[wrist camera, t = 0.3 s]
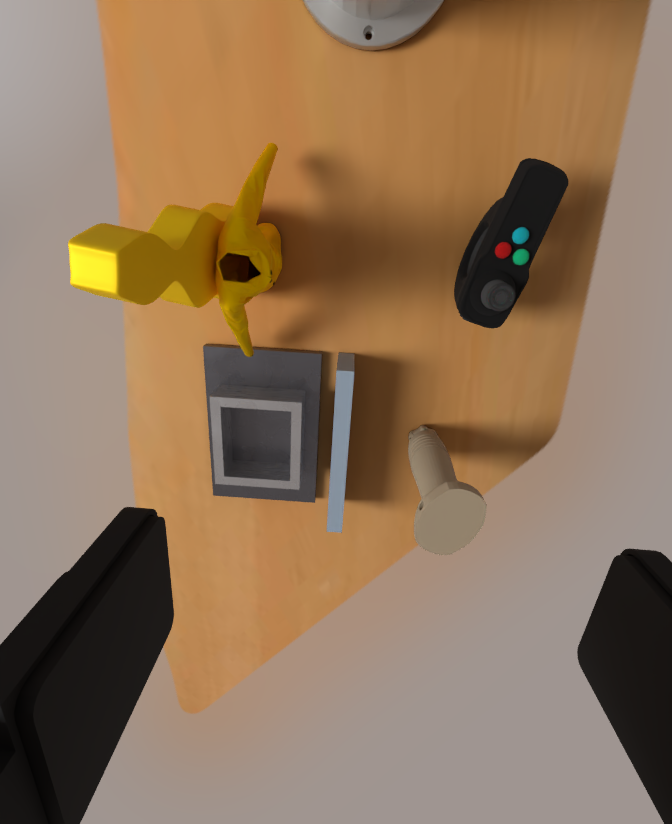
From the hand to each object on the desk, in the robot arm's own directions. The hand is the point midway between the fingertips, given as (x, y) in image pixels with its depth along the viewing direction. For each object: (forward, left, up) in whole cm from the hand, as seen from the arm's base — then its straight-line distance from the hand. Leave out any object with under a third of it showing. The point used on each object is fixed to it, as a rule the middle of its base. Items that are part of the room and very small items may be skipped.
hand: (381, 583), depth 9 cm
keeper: (+14, -9, -36) cm, 39 cm away
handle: (+14, +8, -36) cm, 39 cm away
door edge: (+14, -1, -36) cm, 38 cm away
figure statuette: (-4, -11, -36) cm, 38 cm away
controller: (-6, +11, -36) cm, 38 cm away
